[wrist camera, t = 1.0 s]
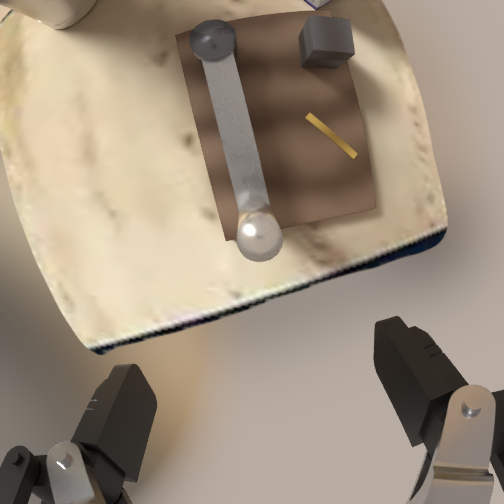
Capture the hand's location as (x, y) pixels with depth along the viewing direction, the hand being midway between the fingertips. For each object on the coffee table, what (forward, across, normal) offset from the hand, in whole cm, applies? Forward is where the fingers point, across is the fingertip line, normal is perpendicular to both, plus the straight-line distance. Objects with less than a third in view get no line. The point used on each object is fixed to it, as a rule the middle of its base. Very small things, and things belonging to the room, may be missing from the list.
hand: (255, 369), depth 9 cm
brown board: (+26, -6, -10) cm, 29 cm away
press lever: (+24, -1, -10) cm, 26 cm away
